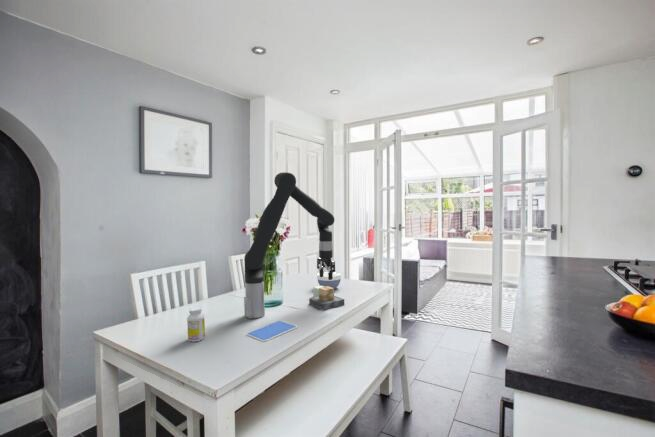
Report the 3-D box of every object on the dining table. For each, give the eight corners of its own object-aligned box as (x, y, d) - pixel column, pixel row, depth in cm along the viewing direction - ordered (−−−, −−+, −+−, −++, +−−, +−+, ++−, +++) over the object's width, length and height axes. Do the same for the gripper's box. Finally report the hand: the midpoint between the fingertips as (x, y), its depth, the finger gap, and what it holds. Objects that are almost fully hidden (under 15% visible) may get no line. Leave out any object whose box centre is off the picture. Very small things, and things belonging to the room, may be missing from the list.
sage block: (318, 299, 189) (318, 289, 189) (313, 296, 194) (313, 287, 194) (327, 297, 193) (326, 287, 192) (321, 295, 198) (321, 285, 197)
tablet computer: (264, 343, 130) (264, 340, 130) (245, 336, 138) (245, 333, 138) (298, 329, 145) (298, 326, 145) (279, 322, 153) (279, 320, 153)
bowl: (314, 286, 218) (314, 272, 218) (336, 284, 223) (336, 270, 223) (321, 292, 203) (320, 277, 203) (344, 290, 208) (344, 275, 208)
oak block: (325, 301, 175) (325, 290, 175) (319, 298, 180) (318, 287, 179) (334, 299, 178) (333, 288, 178) (327, 296, 183) (327, 286, 183)
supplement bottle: (200, 334, 140) (199, 305, 139) (208, 338, 135) (207, 308, 135) (185, 339, 134) (183, 309, 134) (193, 343, 130) (191, 312, 130)
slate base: (323, 309, 169) (323, 304, 169) (309, 303, 181) (309, 298, 181) (344, 304, 177) (344, 299, 177) (329, 298, 189) (329, 293, 189)
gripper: (313, 248, 182) (313, 276, 182) (327, 251, 170) (327, 281, 171) (324, 247, 186) (324, 275, 187) (339, 250, 175) (339, 279, 175)
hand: (325, 278), depth 179 cm, fingers open, 8 cm apart
